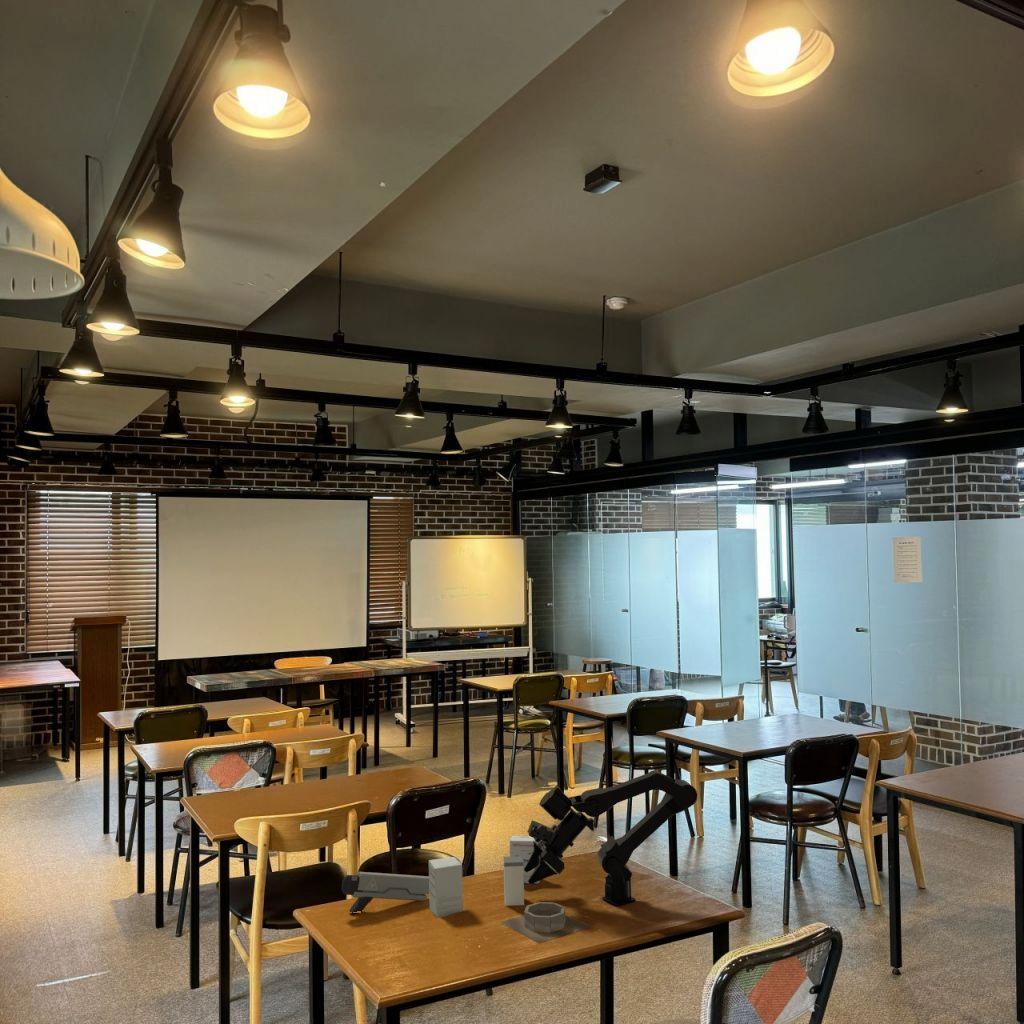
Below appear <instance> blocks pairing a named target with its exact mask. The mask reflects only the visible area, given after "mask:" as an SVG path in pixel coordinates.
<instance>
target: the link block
mask: <svg viewBox="0 0 1024 1024" xmlns="http://www.w3.org/2000/svg"><path fill="white" fill-rule="evenodd" d="M503 891H504V893H503V894H504V895H503V896H504V907H506V906H507V907H508V906H525V883H524V870H523V857H522V856H511V857H510V856H503Z"/></svg>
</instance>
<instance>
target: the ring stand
mask: <svg viewBox="0 0 1024 1024" xmlns="http://www.w3.org/2000/svg"><path fill="white" fill-rule="evenodd" d="M523 913H524V914H523V915H520V916H517V917H513V918H509V919H506V920H503V921H500V922H499V923H500V924H501V925H503V926H505V927H508V928H509V929H511V930H513V931H515V933H516V932H517V933H518V934H520V935H522V936H524V937H526V938H528V939H530V940H532V941H533V942H535V943H537V944H542V943H545V942H549V941H552V940H555V939H558V938H560V937H565V936H567V935H570V934H572V933H575V932H578V931H581V930H584V929H588V928H591V927H592V925H590V924H587V923H586V922H583V921H581V920H579V919H577V918H575V917H573V916H570V915H568V914H566V907H565V906H563V905H561V904H559V903H556V902H551V901H548V902H546V901H544V902H543V901H539V902H536V903H531V904H528V905H526V906H525V908H524V912H523Z"/></svg>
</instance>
